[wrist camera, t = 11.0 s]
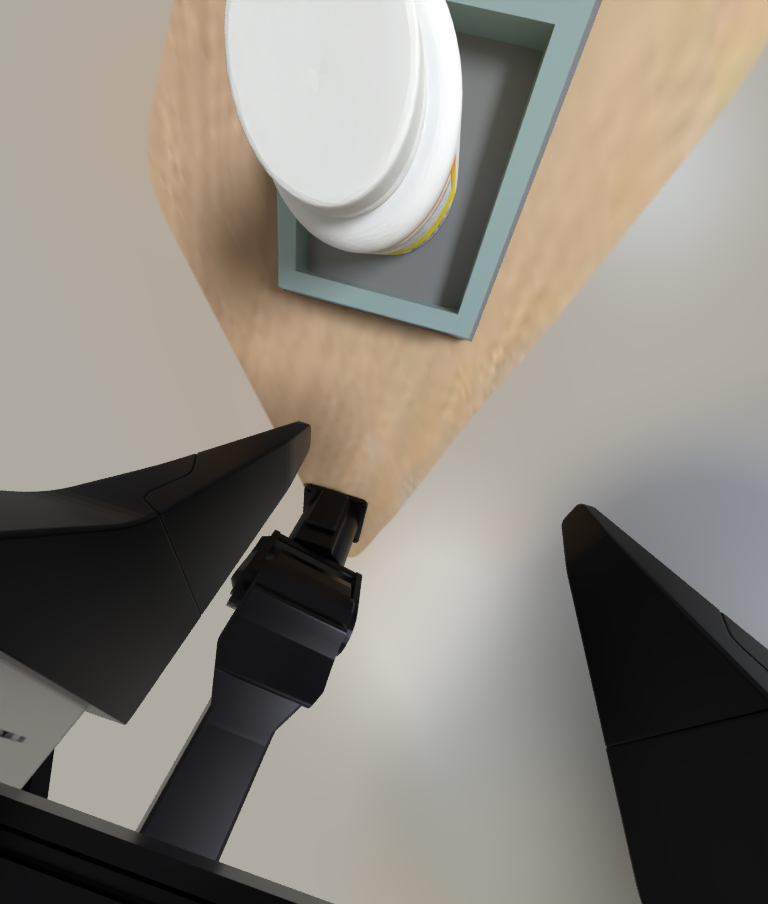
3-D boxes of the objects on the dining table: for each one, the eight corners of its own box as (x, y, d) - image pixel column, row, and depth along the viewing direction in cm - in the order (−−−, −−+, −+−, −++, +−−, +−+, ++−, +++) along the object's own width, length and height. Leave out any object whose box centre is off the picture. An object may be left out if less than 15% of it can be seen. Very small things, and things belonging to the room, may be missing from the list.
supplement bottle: (349, 90, 12) (133, -272, 4) (475, 109, 12) (529, -249, 4) (341, 246, 15) (213, 228, 7) (439, 265, 15) (424, 270, 7)
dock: (470, 337, 18) (473, 347, 16) (291, 289, 18) (272, 293, 16) (592, 14, 11) (625, -43, 9) (294, -50, 11) (259, -118, 9)
